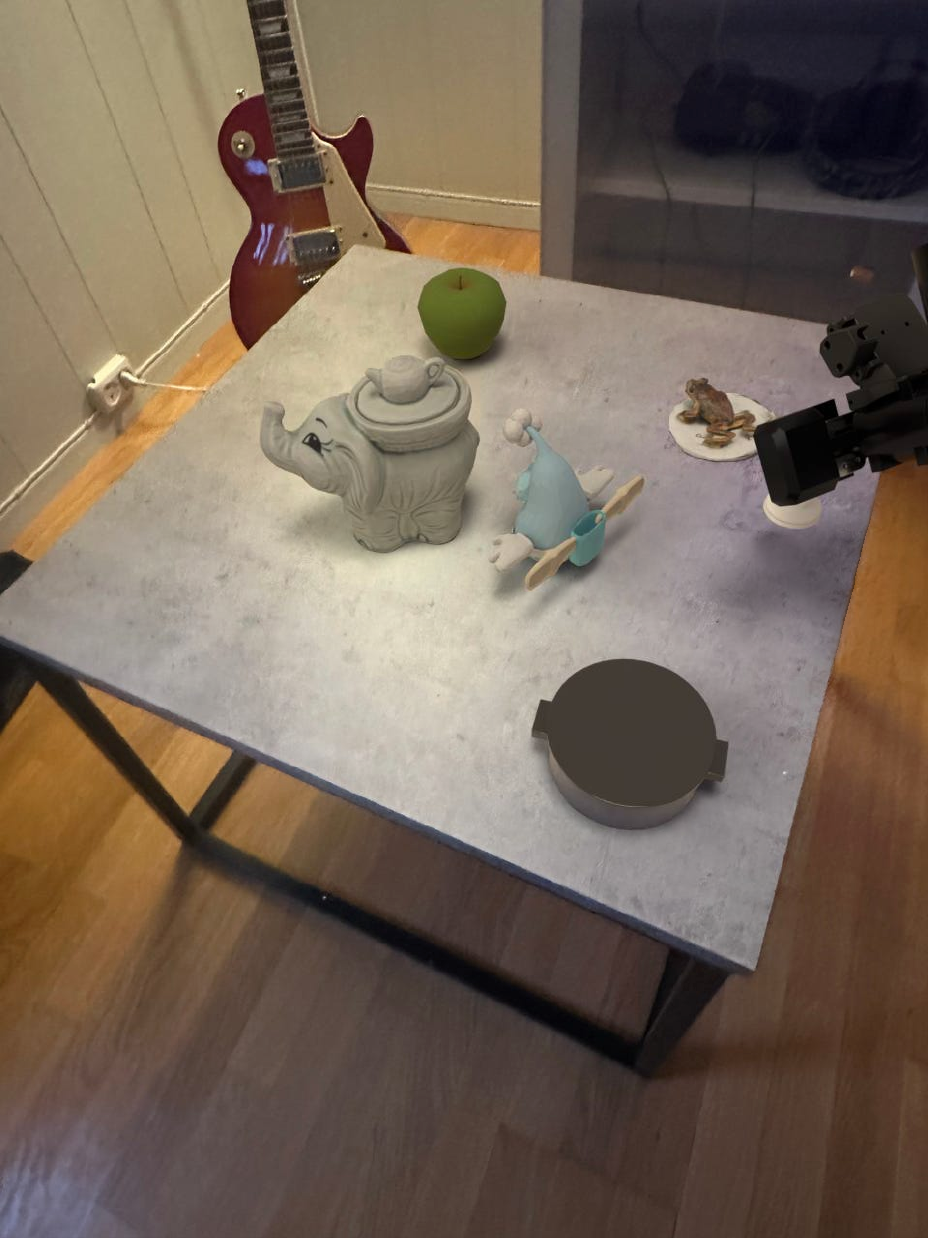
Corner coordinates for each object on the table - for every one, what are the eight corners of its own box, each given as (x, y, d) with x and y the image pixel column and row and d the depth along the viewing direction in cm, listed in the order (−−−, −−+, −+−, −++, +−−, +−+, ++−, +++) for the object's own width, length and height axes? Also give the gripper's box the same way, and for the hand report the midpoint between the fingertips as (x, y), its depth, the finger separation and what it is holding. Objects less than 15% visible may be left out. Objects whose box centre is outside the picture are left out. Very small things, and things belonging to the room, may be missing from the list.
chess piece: (811, 536, 66) (849, 447, 58) (755, 518, 68) (784, 429, 60) (827, 501, 69) (866, 410, 61) (773, 484, 70) (803, 394, 62)
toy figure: (562, 480, 80) (568, 357, 68) (643, 526, 76) (665, 403, 64) (452, 571, 74) (438, 453, 62) (533, 628, 69) (535, 513, 57)
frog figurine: (642, 425, 85) (646, 397, 82) (716, 380, 89) (722, 351, 85) (722, 478, 79) (730, 450, 76) (797, 427, 83) (807, 398, 80)
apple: (418, 333, 98) (408, 259, 90) (497, 320, 99) (494, 245, 91) (430, 383, 92) (421, 308, 84) (515, 369, 93) (513, 293, 85)
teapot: (289, 539, 78) (231, 386, 63) (372, 451, 85) (338, 295, 70) (422, 598, 72) (394, 444, 57) (499, 498, 79) (492, 338, 64)
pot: (725, 712, 63) (738, 680, 59) (707, 856, 56) (721, 831, 52) (552, 674, 66) (554, 641, 62) (515, 806, 59) (515, 779, 55)
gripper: (1048, 243, 49) (868, 317, 64) (809, 325, 46) (679, 383, 61) (1083, 410, 51) (900, 444, 66) (855, 501, 47) (718, 514, 63)
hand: (802, 443), depth 64 cm, fingers closed on chess piece
